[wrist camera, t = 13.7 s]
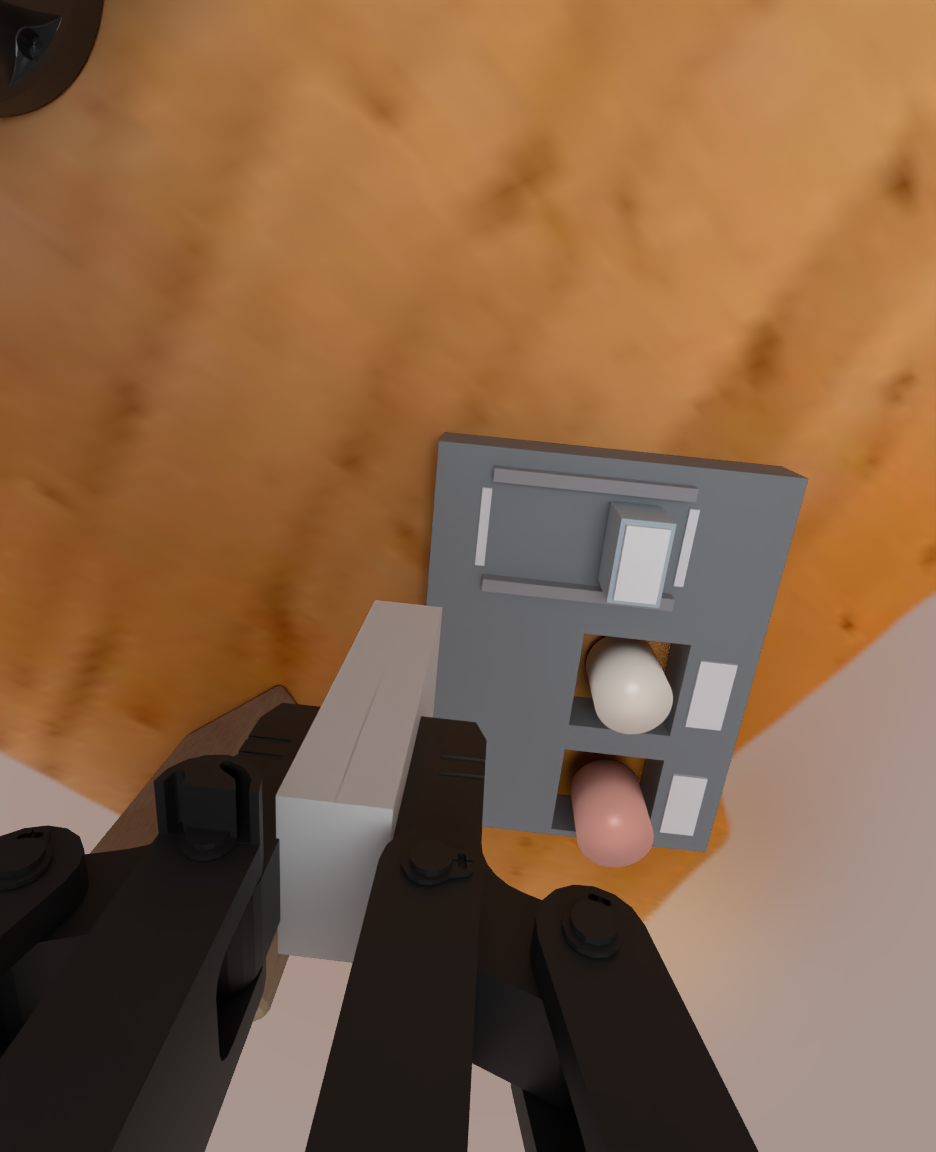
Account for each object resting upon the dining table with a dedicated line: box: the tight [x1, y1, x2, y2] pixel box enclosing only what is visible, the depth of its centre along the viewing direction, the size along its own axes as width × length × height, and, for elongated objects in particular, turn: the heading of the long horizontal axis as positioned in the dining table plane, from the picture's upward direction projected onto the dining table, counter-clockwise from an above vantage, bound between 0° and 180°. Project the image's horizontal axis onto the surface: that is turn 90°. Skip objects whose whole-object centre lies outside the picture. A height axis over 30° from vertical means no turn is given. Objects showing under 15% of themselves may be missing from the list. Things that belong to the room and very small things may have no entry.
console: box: [426, 432, 808, 852], centre depth 45 cm, size 22×28×5 cm
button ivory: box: [586, 636, 673, 734], centre depth 44 cm, size 5×5×5 cm
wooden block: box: [90, 686, 296, 1021], centre depth 43 cm, size 10×10×20 cm
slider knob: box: [598, 501, 677, 608], centre depth 38 cm, size 3×5×4 cm, turn 175°
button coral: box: [570, 760, 654, 867], centre depth 45 cm, size 5×5×5 cm
